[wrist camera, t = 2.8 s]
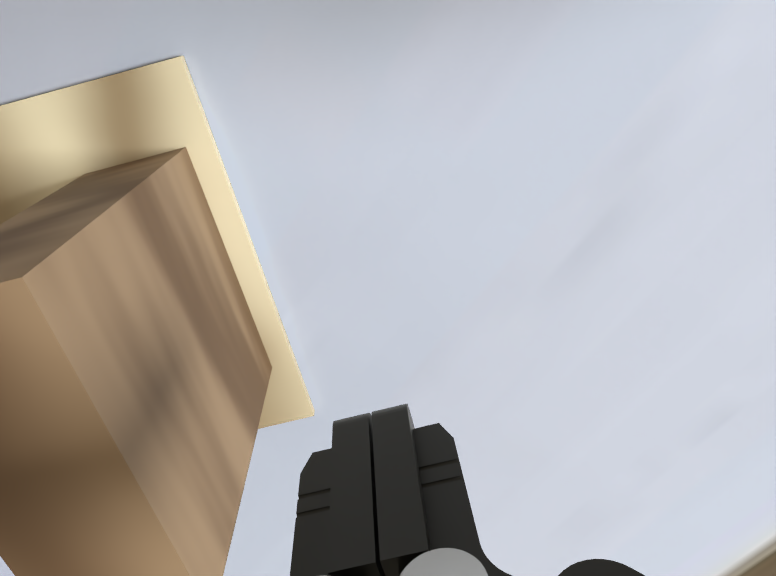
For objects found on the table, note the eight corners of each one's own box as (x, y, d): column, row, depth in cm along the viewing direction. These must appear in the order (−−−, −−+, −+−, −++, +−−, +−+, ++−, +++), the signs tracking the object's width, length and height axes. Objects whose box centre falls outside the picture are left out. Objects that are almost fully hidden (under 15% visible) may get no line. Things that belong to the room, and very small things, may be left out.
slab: (185, 147, 22) (22, 276, 11) (272, 367, 26) (212, 616, 16) (84, 173, 22) (-171, 326, 12) (186, 387, 27) (69, 648, 16)
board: (183, 55, 21) (180, 56, 21) (314, 410, 28) (313, 415, 28) (-322, 194, 22) (-333, 197, 22) (-80, 502, 29) (-86, 509, 29)
